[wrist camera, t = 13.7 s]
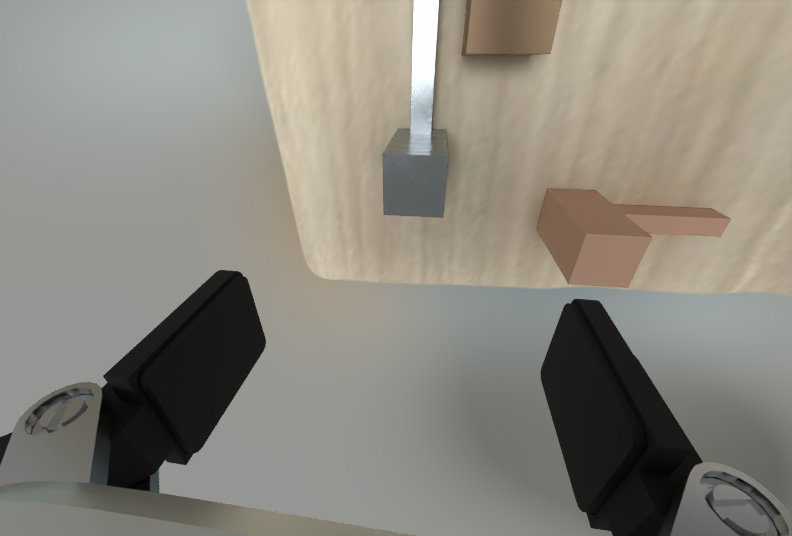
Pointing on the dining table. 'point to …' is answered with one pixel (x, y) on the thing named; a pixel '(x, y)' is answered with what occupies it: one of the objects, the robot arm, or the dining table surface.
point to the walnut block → (510, 27)
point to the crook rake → (418, 133)
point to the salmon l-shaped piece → (612, 234)
